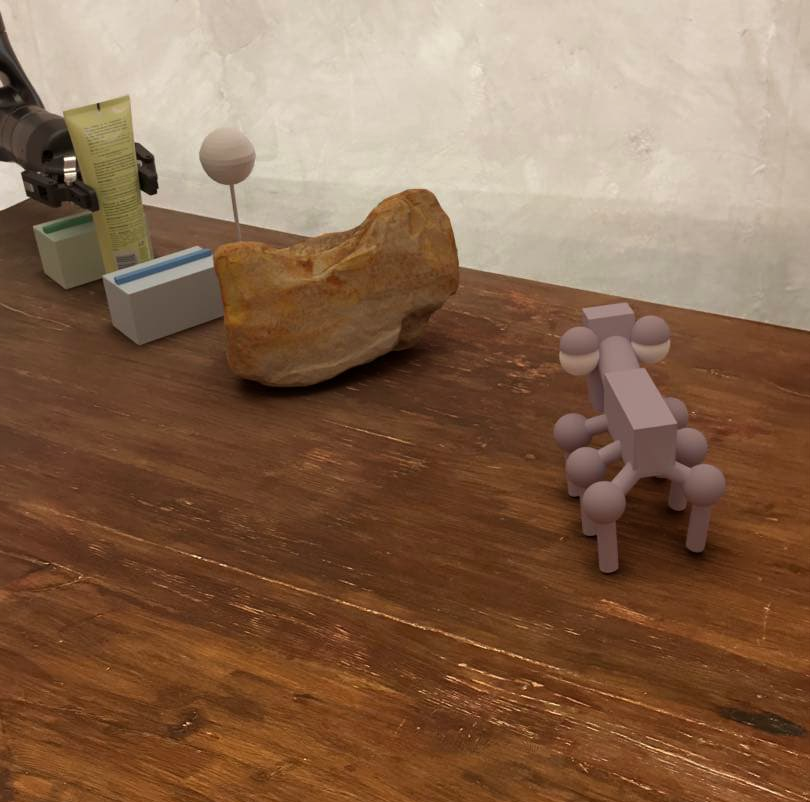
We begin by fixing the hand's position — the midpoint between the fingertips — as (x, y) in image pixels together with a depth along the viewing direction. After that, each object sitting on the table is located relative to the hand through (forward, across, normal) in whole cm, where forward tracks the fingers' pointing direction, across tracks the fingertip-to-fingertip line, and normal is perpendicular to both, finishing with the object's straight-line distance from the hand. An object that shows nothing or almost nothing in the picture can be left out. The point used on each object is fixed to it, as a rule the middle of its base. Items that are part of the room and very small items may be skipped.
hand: (124, 193), depth 115 cm
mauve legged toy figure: (+59, +12, +11) cm, 61 cm away
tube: (-2, 0, +11) cm, 11 cm away
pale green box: (-11, 0, +12) cm, 16 cm away
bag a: (+7, 0, +12) cm, 13 cm away
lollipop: (-1, +13, +12) cm, 18 cm away
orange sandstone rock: (+23, +9, +12) cm, 27 cm away
